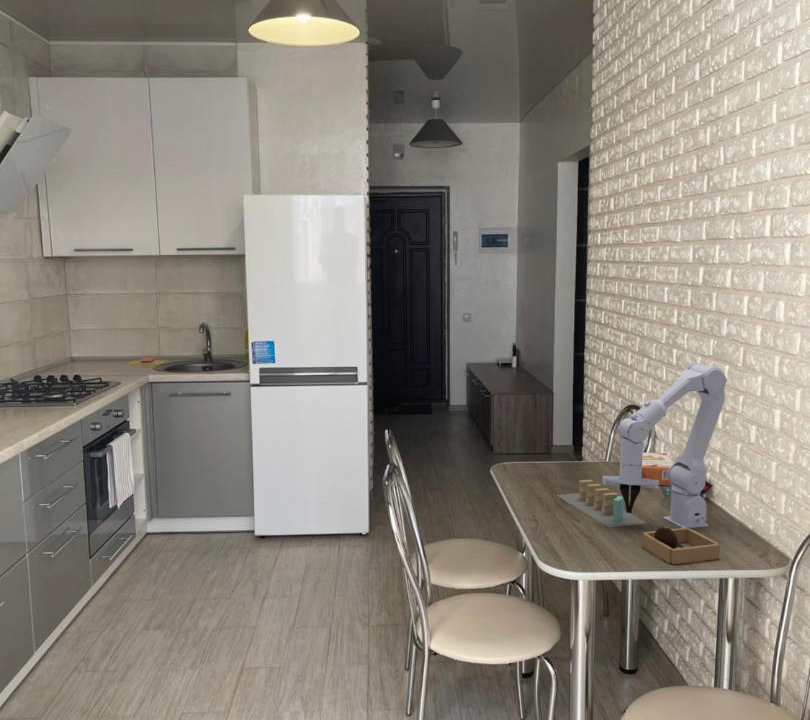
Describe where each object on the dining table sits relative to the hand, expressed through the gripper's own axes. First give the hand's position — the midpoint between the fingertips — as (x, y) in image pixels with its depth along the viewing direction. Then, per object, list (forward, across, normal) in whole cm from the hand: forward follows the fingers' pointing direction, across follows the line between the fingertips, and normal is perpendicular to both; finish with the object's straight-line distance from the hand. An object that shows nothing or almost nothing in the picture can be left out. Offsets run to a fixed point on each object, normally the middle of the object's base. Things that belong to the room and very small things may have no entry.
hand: (628, 511), depth 214 cm
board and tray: (+4, 0, -2) cm, 5 cm away
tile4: (+4, +10, -16) cm, 19 cm away
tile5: (+4, +13, -19) cm, 23 cm away
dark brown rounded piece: (+4, -10, +16) cm, 19 cm away
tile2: (+4, +5, -8) cm, 10 cm away
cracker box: (+1, -8, -43) cm, 44 cm away
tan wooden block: (+4, +8, -12) cm, 15 cm away
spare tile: (+4, +3, -4) cm, 6 cm away
